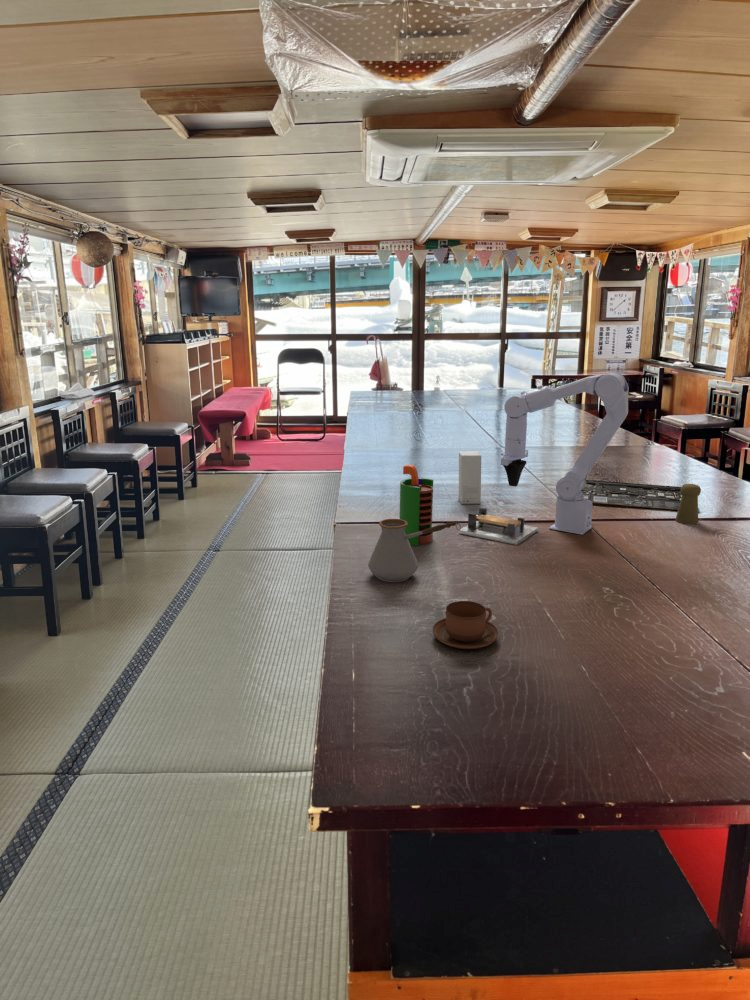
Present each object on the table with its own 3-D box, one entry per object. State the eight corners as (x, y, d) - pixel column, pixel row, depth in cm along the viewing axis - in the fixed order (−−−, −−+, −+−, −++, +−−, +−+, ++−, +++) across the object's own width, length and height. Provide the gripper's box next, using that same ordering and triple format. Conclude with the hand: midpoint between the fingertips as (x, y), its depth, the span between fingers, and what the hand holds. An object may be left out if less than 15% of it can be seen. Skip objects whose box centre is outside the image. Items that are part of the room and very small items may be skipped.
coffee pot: (359, 581, 154) (359, 517, 150) (380, 564, 164) (380, 504, 160) (450, 596, 145) (452, 529, 141) (466, 577, 155) (468, 514, 151)
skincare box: (480, 504, 214) (482, 455, 209) (459, 504, 214) (461, 455, 210) (477, 497, 222) (479, 450, 218) (457, 497, 222) (458, 450, 218)
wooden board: (521, 524, 185) (521, 520, 185) (514, 528, 181) (514, 524, 181) (479, 516, 192) (479, 512, 192) (471, 520, 188) (471, 516, 188)
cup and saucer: (455, 619, 135) (456, 590, 133) (509, 637, 127) (511, 606, 126) (419, 641, 126) (420, 611, 124) (475, 662, 119) (477, 629, 117)
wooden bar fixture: (537, 530, 188) (538, 513, 186) (517, 544, 177) (518, 526, 175) (481, 520, 197) (482, 504, 196) (458, 533, 186) (459, 515, 185)
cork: (694, 518, 198) (698, 482, 195) (701, 525, 192) (706, 487, 189) (672, 518, 199) (676, 481, 196) (679, 524, 193) (683, 486, 190)
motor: (430, 546, 176) (431, 471, 170) (396, 544, 177) (396, 469, 172) (434, 534, 185) (436, 462, 180) (402, 532, 187) (402, 461, 182)
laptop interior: (576, 505, 214) (577, 499, 213) (581, 483, 239) (582, 478, 239) (699, 517, 203) (700, 511, 202) (690, 493, 228) (691, 487, 228)
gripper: (513, 433, 199) (510, 478, 202) (491, 441, 187) (489, 488, 191) (536, 435, 195) (533, 481, 198) (515, 443, 183) (512, 492, 187)
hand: (513, 485), depth 194 cm, fingers closed
